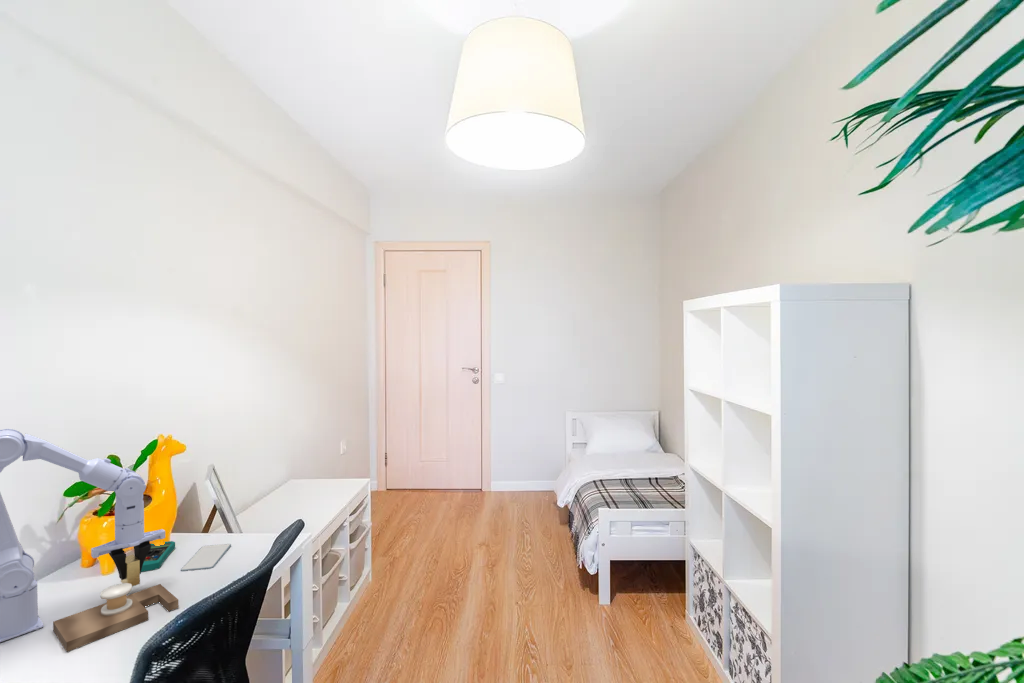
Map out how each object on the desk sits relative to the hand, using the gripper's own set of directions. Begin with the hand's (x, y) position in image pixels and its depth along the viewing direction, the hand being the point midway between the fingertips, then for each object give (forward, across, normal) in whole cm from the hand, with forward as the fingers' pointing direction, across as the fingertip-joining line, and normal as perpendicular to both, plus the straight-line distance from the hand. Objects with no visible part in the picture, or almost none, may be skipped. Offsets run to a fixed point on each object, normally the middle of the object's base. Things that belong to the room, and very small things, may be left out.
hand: (130, 575), depth 121 cm
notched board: (+5, -5, -10) cm, 12 cm away
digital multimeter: (+6, +10, +18) cm, 22 cm away
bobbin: (+3, -5, -9) cm, 11 cm away
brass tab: (+2, 0, 0) cm, 2 cm away
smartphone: (+5, +20, +7) cm, 22 cm away
